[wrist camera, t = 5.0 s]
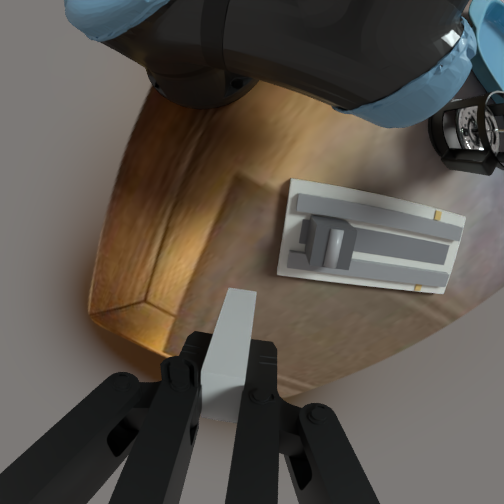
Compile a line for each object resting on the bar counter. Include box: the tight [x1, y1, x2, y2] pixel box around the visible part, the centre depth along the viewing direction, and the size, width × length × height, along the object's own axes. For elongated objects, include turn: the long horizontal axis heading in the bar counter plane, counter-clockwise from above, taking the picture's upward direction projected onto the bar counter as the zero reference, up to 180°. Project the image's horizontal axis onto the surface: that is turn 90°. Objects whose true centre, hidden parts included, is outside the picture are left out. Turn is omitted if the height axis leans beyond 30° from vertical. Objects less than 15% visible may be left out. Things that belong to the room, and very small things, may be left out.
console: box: [277, 178, 466, 294], centre depth 33 cm, size 26×12×2 cm, turn 83°
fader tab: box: [305, 215, 358, 270], centre depth 30 cm, size 4×4×6 cm
